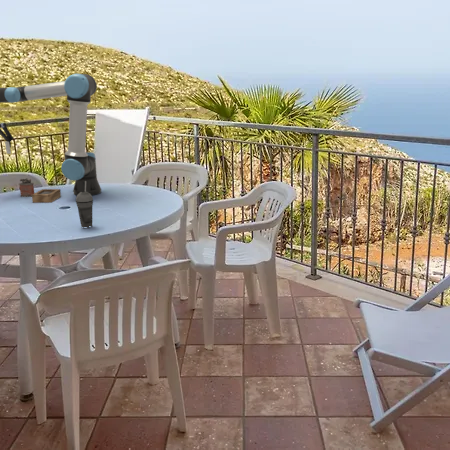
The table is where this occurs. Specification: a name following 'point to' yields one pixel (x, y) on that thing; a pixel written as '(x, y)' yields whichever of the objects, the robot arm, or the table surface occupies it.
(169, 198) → the table surface
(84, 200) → the beverage cup
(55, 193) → the shallow wooden box
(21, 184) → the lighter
